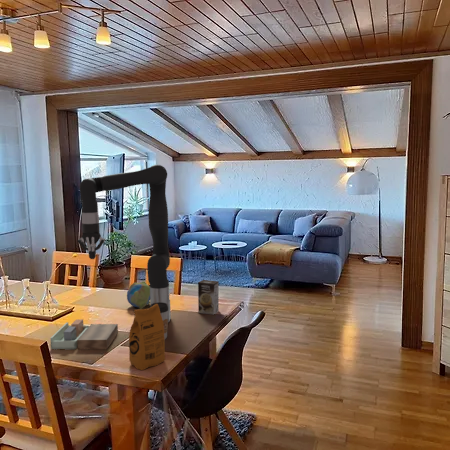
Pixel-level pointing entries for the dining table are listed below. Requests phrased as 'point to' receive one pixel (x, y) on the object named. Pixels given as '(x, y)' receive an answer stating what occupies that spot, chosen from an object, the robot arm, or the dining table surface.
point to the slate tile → (70, 334)
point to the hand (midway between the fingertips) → (92, 258)
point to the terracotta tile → (78, 326)
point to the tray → (58, 339)
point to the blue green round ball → (139, 294)
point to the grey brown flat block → (98, 336)
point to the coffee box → (208, 297)
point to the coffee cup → (163, 315)
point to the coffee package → (147, 338)
